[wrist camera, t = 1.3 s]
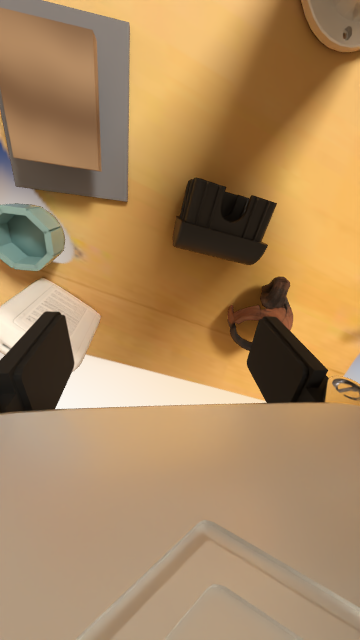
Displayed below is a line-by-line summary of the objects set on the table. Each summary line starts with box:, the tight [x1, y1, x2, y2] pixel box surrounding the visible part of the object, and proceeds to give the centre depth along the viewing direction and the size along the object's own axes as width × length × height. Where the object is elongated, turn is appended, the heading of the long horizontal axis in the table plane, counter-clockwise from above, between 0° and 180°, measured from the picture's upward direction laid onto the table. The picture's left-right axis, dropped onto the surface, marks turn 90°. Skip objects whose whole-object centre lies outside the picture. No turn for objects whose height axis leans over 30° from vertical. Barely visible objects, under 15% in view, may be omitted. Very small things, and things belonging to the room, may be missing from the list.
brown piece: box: [228, 277, 293, 351], centre depth 34 cm, size 12×10×8 cm
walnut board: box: [0, 7, 102, 172], centre depth 19 cm, size 9×7×1 cm
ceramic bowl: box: [0, 203, 65, 271], centre depth 26 cm, size 7×7×4 cm
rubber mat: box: [0, 0, 130, 202], centre depth 21 cm, size 14×12×3 cm
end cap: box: [173, 178, 277, 265], centre depth 26 cm, size 10×7×7 cm
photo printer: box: [0, 278, 101, 372], centre depth 27 cm, size 10×4×12 cm, turn 47°
